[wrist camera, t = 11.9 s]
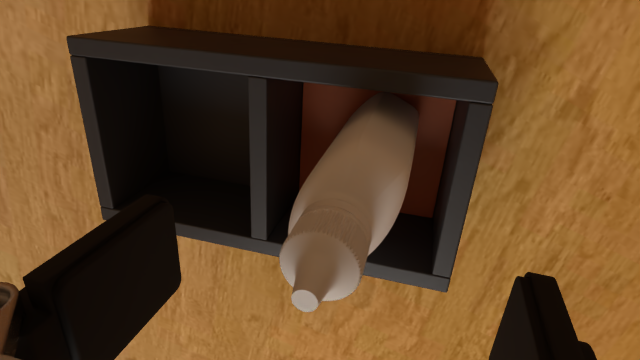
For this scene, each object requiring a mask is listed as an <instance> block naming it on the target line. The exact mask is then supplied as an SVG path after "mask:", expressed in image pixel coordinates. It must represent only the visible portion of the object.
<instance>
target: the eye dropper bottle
mask: <svg viewBox="0 0 640 360" xmlns="http://www.w3.org/2000/svg"><path fill="white" fill-rule="evenodd" d="M418 124H419V114H418V111H417V110H416V109H415V108H414V107H413V106H412V105H410V104H409V103H407V102H405V101H404V100H402V99H401V98H399V97H397V96H396V95H394V94H392V93H390V92H380V93H377V94H376V95H374V96H373V97H371V98H370V99H368V100H367V101H366V102H365V103H364V104H362V105H361V106H360V107H359V108H358V109H357V110H356V111H355V112H354V113H353V115H352V116H351V117H350V118H349V119H348V121H347V122H346V124H345V125H344V126H343V128H342V129H341V131H340V132H339V133H338V135H337V136H336V138H335V139H334V140H333V142H332V143H331V145H330V146H329V148H328V149H327V150H326V152H325V153H324V155H323V156H322V158H321V159H320V160H319V162H318V163H317V165H316V166H315V168H314V169H313V170H312V172H311V173H310V175H309V176H308V178H307V179H306V181H305V183H304V184H303V186H302V188H301V189H300V191H299V193H298V195H297V198H296V200H295V202H294V205H293V208H292V211H291V215H290V220H289V228H288V237H287V238H286V240H285V242H284V243H283V246H282V247H281V250H280V254H279V256H280V258H279V260H280V262H279V263H280V267H281V270H282V272H283V275H284V277H285V278H286V280H287V281H288V282H289V283H290V285H291V286H292V287H293V292H292V303H293V304H294V306H295V307H296V308H298V309H299V310H301V311H304V312H311V311H314V310H315V309H316V308H317V307H318V305H319V304H320V303H321V301H334V300H338V299H342V298H345V297H346V296H349V294H352V292H354V291H355V289H357V286H359V283H360V281H361V278H362V274H363V271H364V267H365V263H366V260H367V256H368V255H369V254H370V253H372V252H373V251H374V250H375V249H376V248H377V247H378V246H379V244H380V243H381V242H382V241H383V239H384V238H385V237H386V235H387V234H388V233H389V231H390V229H391V228H392V226H393V224H394V222H395V220H396V218H397V216H398V214H399V212H400V209H401V207H402V204H403V201H404V198H405V194H406V191H407V187H408V182H409V177H410V172H411V168H412V162H413V156H414V150H415V144H416V137H417V131H418Z"/></svg>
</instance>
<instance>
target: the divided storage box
mask: <svg viewBox="0 0 640 360" xmlns="http://www.w3.org/2000/svg"><path fill="white" fill-rule="evenodd" d="M67 43H68V48H69V53H70V54H71V55H72V56H70V58H71V63H72V68H73V73H74V78H75V83H76V88H77V93H78V98H79V103H80V108H81V113H82V118H83V122H84V127H85V132H86V137H87V142H88V147H89V152H90V157H91V162H92V167H93V172H94V177H95V182H96V187H97V192H98V197H99V202H100V205H101V212H102V217H103V220H108V219H110V218H111V217H113V216H114V215H115V214H117V213H118V212H120V211H121V210H123V209H124V208H126V207H127V206H129V205H130V204H132V203H133V202H135V201H136V200H138V199H139V198H141V197H142V196H144V195H146V194H149V195H154V196H159V197H164V198H166V199H167V200H168V201H169V204H171V205H172V206H173V211H174V220H175V228H176V235H178V236H183V237H187V238H192V239H197V240H201V241H206V242H211V243H215V244H220V245H225V246H230V247H234V248H239V249H244V250H248V251H253V252H258V253H263V254H267V255H272V256H277V257H280V256H279V254H280V250H281V247H282V246H283V243H284V242H285V240H286V238H287V237H288V228H289V220H290V215H291V211H292V208H293V205H294V202H295V200H296V198H297V195H298V193H299V191H300V189H301V188H302V186H303V184H304V183H305V181H306V179H307V178H308V176H309V175H310V173H311V172H312V170H313V169H314V168H315V166H316V165H317V163H318V162H319V160H320V159H321V158H322V156H323V155H324V153H325V152H326V150H327V149H328V148H329V146H330V145H331V143H332V142H333V140H334V139H335V138H336V136H337V135H338V133H339V132H340V131H341V129H342V128H343V126H344V125H345V124H346V122H347V121H348V119H349V118H350V117H351V116H352V115H353V113H354V112H355V111H356V110H357V109H358V108H359V107H360V106H361V105H362V104H364V103H365V102H366V101H367V100H368V99H370V98H371V97H373V96H374V95H376V94H377V93H380V92H390V93H392V94H394V95H396V96H397V97H399V98H401V99H402V100H404V101H405V102H407V103H409V104H410V105H412V106H413V107H414V108H415V109H416V110H417V111H418V114H419V124H418V131H417V137H416V144H415V150H414V156H413V162H412V168H411V172H410V177H409V182H408V187H407V191H406V194H405V198H404V201H403V204H402V207H401V209H400V212H399V214H398V216H397V218H396V220H395V222H394V224H393V226H392V228H391V229H390V231H389V233H388V234H387V235H386V237H385V238H384V239H383V241H382V242H381V243H380V244H379V246H378V247H377V248H376V249H375V250H374V251H373V252H372V253H370V254H369V255H368V256H367V260H366V263H365V267H364V271H363V274H362V275H366V276H371V277H375V278H380V279H385V280H390V281H394V282H399V283H404V284H408V285H413V286H418V287H423V288H427V289H432V290H437V291H441V292H447V291H448V287H449V283H450V277H451V275H452V271H453V267H454V262H455V258H456V254H457V250H458V246H459V242H460V238H461V234H462V230H463V226H464V222H465V218H466V214H467V210H468V206H469V202H470V197H471V193H472V189H473V185H474V181H475V177H476V173H477V169H478V165H479V161H480V157H481V153H482V149H483V145H484V141H485V137H486V133H487V128H488V124H489V120H490V116H491V112H492V108H493V105H492V104H493V102H494V100H495V96H496V92H497V88H498V81H497V79H496V78H495V76H494V75H493V73H492V71H491V70H490V68H489V67H488V65H487V64H486V62H485V60H484V58H482V57H472V56H461V55H450V54H440V53H429V52H419V51H408V50H398V49H387V48H377V47H366V46H355V45H345V44H334V43H324V42H313V41H303V40H292V39H281V38H271V37H260V36H250V35H239V34H229V33H218V32H207V31H197V30H186V29H176V28H165V27H155V26H143V27H136V28H128V29H120V30H111V31H103V32H95V33H87V34H79V35H70V36H67Z"/></svg>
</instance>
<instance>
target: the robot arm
mask: <svg viewBox="0 0 640 360" xmlns="http://www.w3.org/2000/svg"><path fill="white" fill-rule="evenodd" d="M23 281H24V284H25V287H24V288H23V289H22V290H20V291H19V290H18V289H17V288H16V286H15V285H13V284H10V283H7V282H0V360H114V359H115V358H116V357H117V356H118V355H119V354H120V353H121V351H122V350H123V349H124V348H125V347H126V346H127V345H128V344H129V343H130V341H131V340H132V339H133V338H134V337H135V336H136V335H137V334H138V333H139V331H140V330H141V329H142V328H143V327H144V326H145V325H146V324H147V323H148V321H149V320H150V319H151V318H152V317H153V316H154V315H155V314H156V313H157V312H158V310H159V309H160V308H161V307H162V306H163V305H164V304H165V303H166V302H167V300H168V299H169V298H170V297H171V296H172V295H173V294H174V293H175V292H176V290H177V289H178V287H179V286H180V283H181V271H180V262H179V254H178V245H177V237H176V228H175V220H174V211H173V206H172V205H171V204H169V201H168V200H167V199H166V198H164V197H159V196H154V195H149V194H146V195H144V196H142V197H141V198H139V199H138V200H136V201H135V202H133V203H132V204H130V205H129V206H127V207H126V208H124V209H123V210H121V211H120V212H118V213H117V214H115V215H114V216H113V217H111V218H110V219H108V220H107V221H105V222H104V223H102V224H101V225H99V226H98V227H96V228H95V229H93V230H92V231H90V232H89V233H87V234H86V235H84V236H83V237H82V238H80V239H79V240H77V241H76V242H74V243H73V244H71V245H70V246H68V247H67V248H65V249H64V250H62V251H61V252H59V253H58V254H56V255H55V256H54V257H52V258H51V259H49V260H48V261H46V262H45V263H43V264H42V265H40V266H39V267H37V268H36V269H34V270H33V271H31V272H30V273H28V274H27V275H25V276H24V277H23ZM489 360H597V359H596V356H595V354H594V351H593V350H592V348H591V346H590V345H589V344H588V343H586V342H581V341H578V339H577V336H576V333H575V330H574V328H573V325H572V322H571V319H570V317H569V314H568V311H567V309H566V306H565V303H564V300H563V298H562V295H561V292H560V290H559V287H558V284H557V281H556V279H555V278H554V277H551V276H546V275H541V274H536V273H531V272H527V273H526V274H525V276H524V277H520V276H517V277H516V279H515V281H514V284H513V287H512V290H511V293H510V296H509V299H508V302H507V305H506V308H505V311H504V314H503V317H502V320H501V323H500V326H499V329H498V332H497V335H496V338H495V341H494V344H493V347H492V350H491V353H490V356H489Z"/></svg>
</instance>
